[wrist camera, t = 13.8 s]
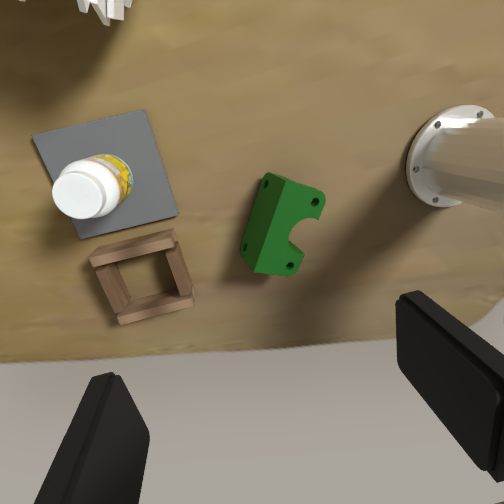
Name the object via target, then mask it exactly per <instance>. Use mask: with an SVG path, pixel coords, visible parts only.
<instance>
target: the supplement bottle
mask: <svg viewBox="0 0 504 504" xmlns="http://www.w3.org/2000/svg"><path fill="white" fill-rule="evenodd" d="M132 187H133V177H132V173H131V170H130V168H129V167H128V165H127V164H126V163H125V162H124V161H122V160H121V159H120V158H118V157H116V156H113V155H109V154H99V155H95V156H91V157H88V158H85V159H82V160H78V161H75V162H73V163H71V164H69V165H67V166H66V167H65V168H64V169H63V170H62V172H61V173H60V175H59V178H58V179H57V180H56V181H55V183H54V185H53V188H52V196H53V199H54V202H55V204H56V205H57V207H58V208H59V209H60V210H61V211H62V212H63V213H64V214H66V215H68V216H70V217H72V218H76V219H87V218H96V217H101V216H104V215H106V214H108V213H110V212H111V211H112V210H113V209H114V208H116V207H117V206H118V205H119V204H120V203H121V202H122V201H123V200H124V199H125V198H126V197H127V196H128V195H129V194H130V192H131V190H132Z"/></svg>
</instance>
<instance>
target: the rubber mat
mask: <svg viewBox="0 0 504 504" xmlns="http://www.w3.org/2000/svg"><path fill="white" fill-rule="evenodd" d="M31 136H32V138H33V140H34V142H35V144H36V146H37V148H38V150H39V152H40V155H41V157H42V159H43V161H44V163H45V165H46V167H47V169H48V171H49V174H50V176H51V178H52V180H53V182H54V183H55V181H56V180H57V179H58V178H59V175H60V173H61V172H62V170H63V169H64V168H65V167H66V166H67V165H69V164H71V163H73V162H75V161H78V160H82V159H85V158H88V157H91V156H95V155H99V154H109V155H113V156H116V157H118V158H120V159H121V160H122V161H124V162H125V163H126V164H127V165H128V167H129V168H130V170H131V173H132V177H133V187H132V190H131V192H130V194H129V195H128V196H127V197H126V198H125V199H124V200H123V201H122V202H121V203H120V204H119V205H118V206H117V207H116V208H114V209H113V210H112V211H111V212H110V213H108V214H106V215H104V216H101V217H96V218H87V219H76V218H72V217H70V218H71V220H72V222H73V224H74V226H75V228H76V231H77V233H78V235H79V237H80V239H84V238H88V237H92V236H96V235H100V234H104V233H108V232H112V231H116V230H120V229H124V228H128V227H133V226H137V225H141V224H145V223H149V222H153V221H157V220H161V219H165V218H169V217H173V216H177V215H178V214H179V213H178V210H177V207H176V204H175V200H174V197H173V194H172V191H171V188H170V185H169V182H168V179H167V176H166V173H165V169H164V166H163V163H162V160H161V157H160V154H159V151H158V148H157V145H156V142H155V138H154V135H153V132H152V129H151V126H150V123H149V120H148V117H147V114H146V111H145V110H144V109H143V110H139V111H135V112H130V113H126V114H122V115H117V116H113V117H109V118H104V119H100V120H95V121H91V122H87V123H82V124H78V125H74V126H69V127H65V128H61V129H56V130H52V131H48V132H43V133H39V134H35V135H31Z"/></svg>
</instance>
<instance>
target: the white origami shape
mask: <svg viewBox="0 0 504 504" xmlns="http://www.w3.org/2000/svg"><path fill="white" fill-rule="evenodd" d="M19 1H23V2H26V0H19ZM132 1H133V0H77V3H78V7H79V11H81V12H84V13H87V12H88V8H89V4H90V3H91V5H92V6H93V8H94V9H95V11H96V13H97V14H98V16H99V18H100V19H101V21H102V23H103V24H104V25H106V26H110V18H112V19H118V20H124V6H125V7H128V8H130V7H131V4H132Z"/></svg>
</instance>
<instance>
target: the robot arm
mask: <svg viewBox="0 0 504 504" xmlns="http://www.w3.org/2000/svg"><path fill="white" fill-rule="evenodd" d="M406 175H407V181H408V184H409V186H410V189H411V190H412V192H413V193H414V195H415V196H416V197H417V198H418V199H419V200H421V201H423V202H425V203H426V204H429V205H432V206H436V207H451V206H455V205H458V204H461V203H463V202H464V203H468V204H471V205H475V206H478V207H481V208H485V209H488V210H491V211H495V212H498V213H501V214H504V118H495V117H494V116H493V115H492V113H490V112H489V111H488V110H486V109H485V108H482V107H479V106H475V105H459V106H455V107H451V108H448V109H446V110H444V111H441V112H440V113H438V114H437V115H435V116H434V117H432V118H431V119H430V120H429V121H428V122H427V123H426V124H425V125H424V126H423V127H422V129H421V130H420V131H419V132H418V134H417V135H416V137H415V139H414V141H413V143H412V145H411V148H410V150H409V153H408V158H407V162H406ZM395 305H396V339H397V362H398V365H399V368H400V370H401V371H402V373H403V374H404V375H405V376H406V378H407V379H408V380H409V381H410V383H411V384H412V385H413V386H414V388H415V389H416V390H417V391H418V393H419V394H420V395H421V396H422V398H423V399H424V400H425V401H426V403H427V404H428V405H429V407H430V408H431V409H432V410H433V411H434V413H435V414H436V415H437V417H438V418H439V419H440V420H441V422H442V423H443V424H444V425H445V427H446V428H447V429H448V430H449V432H450V433H451V434H452V435H453V437H454V438H455V439H456V440H457V442H458V443H459V444H460V446H461V447H462V448H463V449H464V451H465V452H466V453H467V454H468V456H469V457H470V458H471V459H472V460H473V462H474V463H475V464H476V465H477V467H479V468H480V469H481V470H483V471H486V470H487V471H488V473H489V474H490V475H491V476H492V478H493V479H494V480H495V481H496V482H497V483H498V482H501V481H504V355H503V354H502V353H501V352H499V351H498V350H496V349H495V348H494V347H493V346H492V345H490V344H489V343H488V342H486V341H485V340H484V339H482V338H481V337H480V336H478V335H477V334H476V333H475V332H473V331H472V330H471V329H469V328H468V327H467V326H465V325H464V324H463V323H461V322H460V321H459V320H458V319H456V318H455V317H454V316H452V315H451V314H450V313H448V312H447V311H446V310H445V309H443V308H442V307H441V306H439V305H438V304H437V303H435V302H434V301H433V300H432V299H430V298H429V297H428V296H426V295H425V294H424V293H422V292H421V291H419V290H416V291H413V292H409V293H405V294H402V295H400V297H399V300H397V301H396V304H395ZM149 441H150V436H149V430H148V428H147V426H146V424H145V422H144V420H143V418H142V416H141V415H140V413H139V411H138V409H137V407H136V405H135V403H134V401H133V399H132V397H131V395H130V393H129V391H128V389H127V387H126V386H125V384H124V382H123V380H122V378H121V376H119V375H115V374H114V373H113V372H109V373H105V374H102V375H98V376H94V377H92V378H91V380H90V382H89V384H88V387H87V389H86V391H85V393H84V395H83V397H82V400H81V402H80V404H79V406H78V408H77V411H76V413H75V415H74V417H73V419H72V422H71V424H70V426H69V428H68V430H67V433H66V435H65V436H64V438H63V441H62V443H61V445H60V447H59V449H58V451H57V454H56V456H55V458H54V460H53V462H52V465H51V467H50V469H49V471H48V474H47V476H46V478H45V480H44V482H43V485H42V487H41V489H40V491H39V493H38V495H37V498H36V500H35V502H34V504H139V498H140V492H141V487H142V481H143V475H144V470H145V464H146V459H147V453H148V447H149ZM496 504H504V502H500V503H496Z"/></svg>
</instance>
